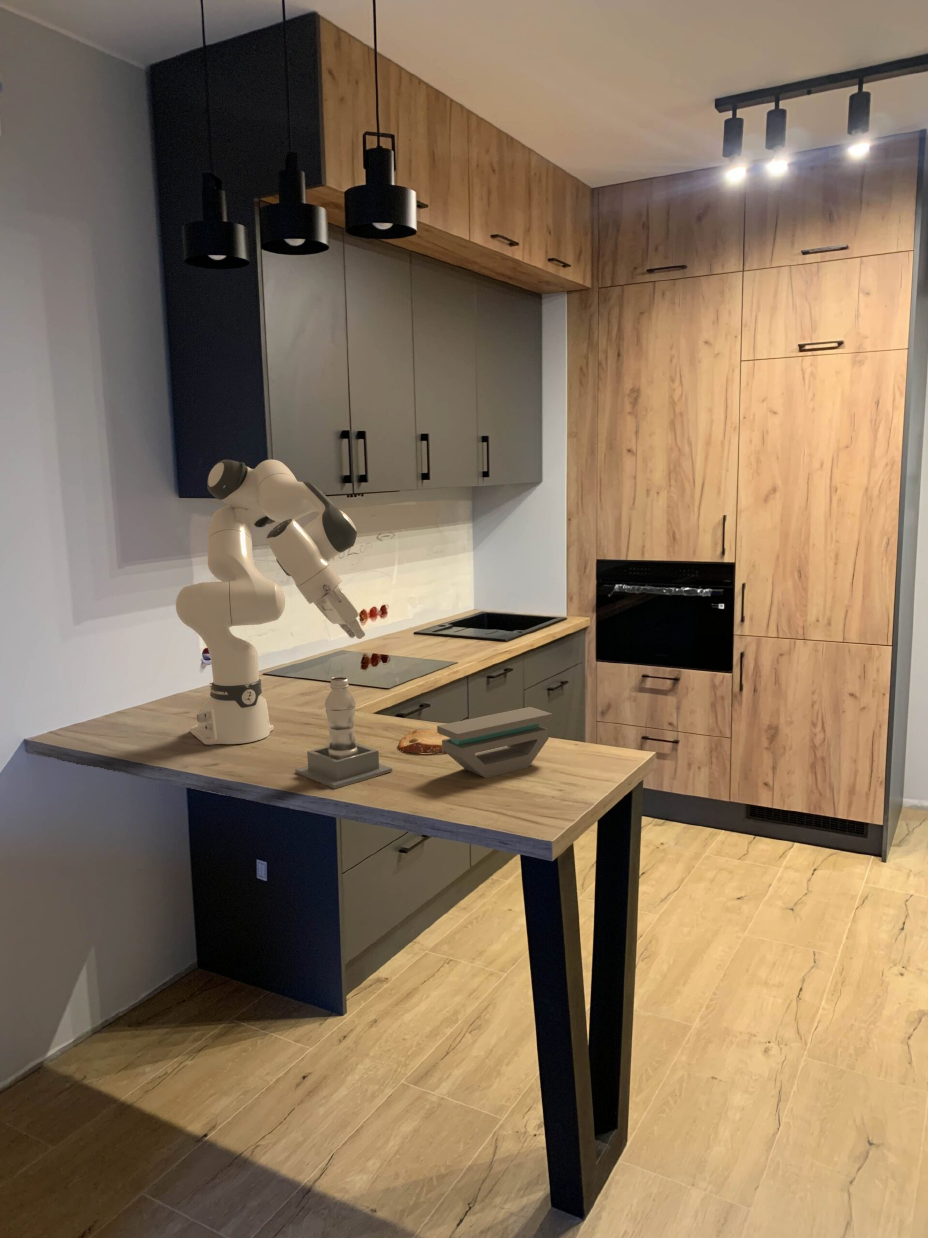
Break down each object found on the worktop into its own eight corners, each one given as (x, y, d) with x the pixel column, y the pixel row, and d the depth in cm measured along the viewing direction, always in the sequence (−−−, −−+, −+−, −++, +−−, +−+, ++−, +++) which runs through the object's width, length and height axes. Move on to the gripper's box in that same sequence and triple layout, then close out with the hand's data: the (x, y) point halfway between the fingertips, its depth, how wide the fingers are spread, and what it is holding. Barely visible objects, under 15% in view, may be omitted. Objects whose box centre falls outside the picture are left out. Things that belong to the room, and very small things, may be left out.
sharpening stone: (530, 753, 213) (530, 706, 211) (552, 761, 206) (552, 713, 205) (438, 775, 199) (437, 725, 197) (458, 784, 193) (457, 734, 191)
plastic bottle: (357, 773, 199) (352, 682, 196) (325, 773, 199) (320, 682, 196) (361, 763, 205) (357, 675, 202) (330, 764, 206) (326, 675, 203)
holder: (295, 772, 203) (294, 751, 202) (351, 757, 213) (350, 737, 212) (334, 789, 192) (333, 766, 191) (392, 771, 202) (391, 750, 201)
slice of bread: (494, 741, 224) (493, 726, 224) (456, 762, 209) (456, 746, 208) (430, 732, 233) (429, 717, 233) (390, 752, 218) (389, 736, 217)
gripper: (340, 575, 196) (378, 628, 198) (326, 579, 215) (361, 628, 217) (316, 593, 194) (355, 646, 196) (303, 595, 214) (339, 644, 216)
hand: (358, 636), depth 207 cm, fingers open, 8 cm apart
